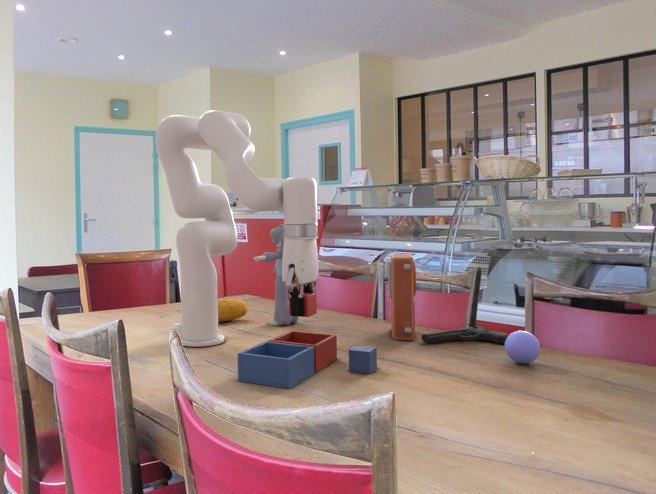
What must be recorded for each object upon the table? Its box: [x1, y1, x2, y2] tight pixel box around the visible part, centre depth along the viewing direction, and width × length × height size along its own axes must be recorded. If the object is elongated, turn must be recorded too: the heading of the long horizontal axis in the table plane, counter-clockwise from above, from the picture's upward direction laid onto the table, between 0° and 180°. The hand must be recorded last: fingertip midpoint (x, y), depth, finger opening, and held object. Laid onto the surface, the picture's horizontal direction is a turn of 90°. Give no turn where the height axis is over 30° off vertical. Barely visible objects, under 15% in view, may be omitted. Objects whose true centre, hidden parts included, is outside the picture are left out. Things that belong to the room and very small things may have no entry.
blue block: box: [348, 344, 378, 375], centre depth 122 cm, size 5×5×5 cm
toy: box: [253, 223, 299, 326], centre depth 174 cm, size 30×8×30 cm, turn 144°
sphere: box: [504, 330, 541, 365], centre depth 125 cm, size 7×7×7 cm
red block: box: [289, 292, 318, 318], centre depth 129 cm, size 5×5×5 cm
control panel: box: [387, 253, 417, 341], centre depth 155 cm, size 21×7×15 cm
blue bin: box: [237, 341, 315, 389], centre depth 118 cm, size 12×12×6 cm
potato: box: [218, 298, 249, 323], centre depth 179 cm, size 8×14×7 cm, turn 108°
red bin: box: [267, 330, 338, 373], centre depth 129 cm, size 12×12×6 cm
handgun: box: [421, 325, 511, 345], centre depth 145 cm, size 3×20×12 cm
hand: (302, 313), depth 129 cm, fingers closed on red block, 4 cm apart
